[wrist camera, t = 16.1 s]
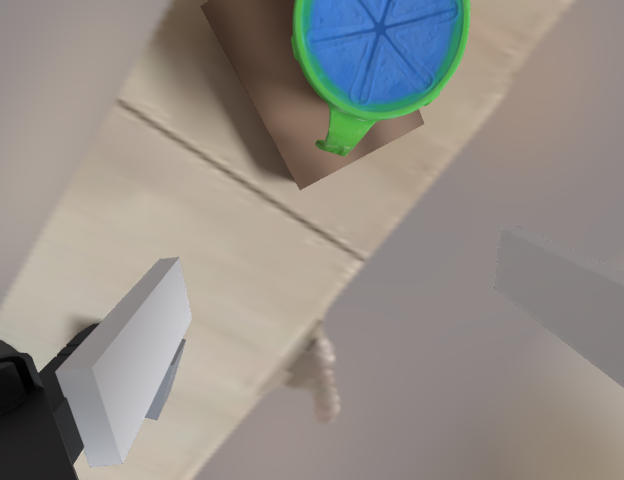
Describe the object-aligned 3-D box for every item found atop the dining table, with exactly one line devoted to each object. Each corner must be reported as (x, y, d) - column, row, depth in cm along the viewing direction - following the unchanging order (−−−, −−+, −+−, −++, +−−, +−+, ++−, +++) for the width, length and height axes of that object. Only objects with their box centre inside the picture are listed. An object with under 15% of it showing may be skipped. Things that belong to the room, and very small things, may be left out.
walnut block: (298, 181, 38) (299, 190, 33) (213, 23, 33) (200, 6, 28) (407, 123, 37) (424, 123, 32) (336, -52, 32) (343, -82, 27)
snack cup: (366, 171, 33) (401, 184, 23) (260, 123, 31) (249, 114, 21) (447, -3, 29) (529, -76, 19) (333, -69, 27) (361, -186, 18)
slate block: (107, 373, 44) (85, 403, 39) (120, 321, 42) (98, 346, 37) (171, 389, 45) (157, 420, 41) (186, 339, 43) (173, 365, 38)
